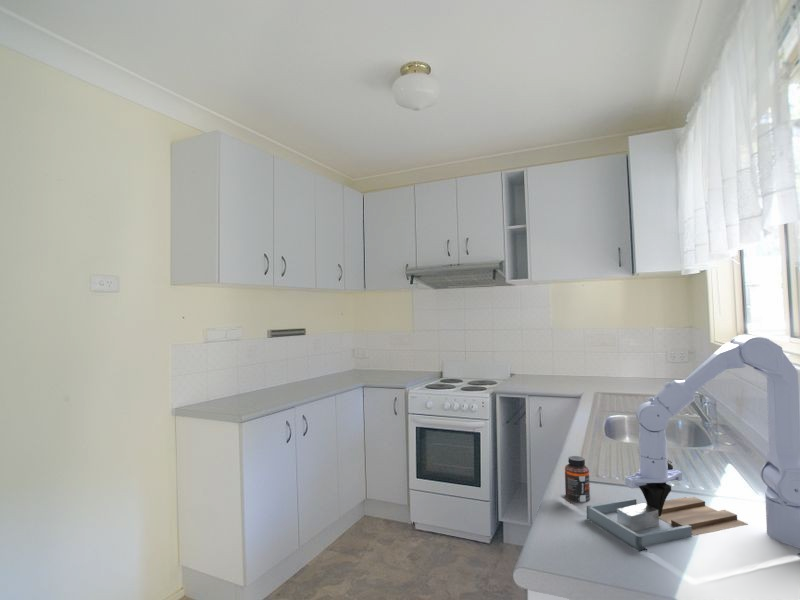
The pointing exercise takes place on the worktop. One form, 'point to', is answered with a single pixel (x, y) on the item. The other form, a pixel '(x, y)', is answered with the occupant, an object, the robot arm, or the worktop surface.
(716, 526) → the slot board
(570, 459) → the supplement bottle
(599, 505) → the tray
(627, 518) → the chip
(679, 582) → the worktop surface
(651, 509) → the chip
